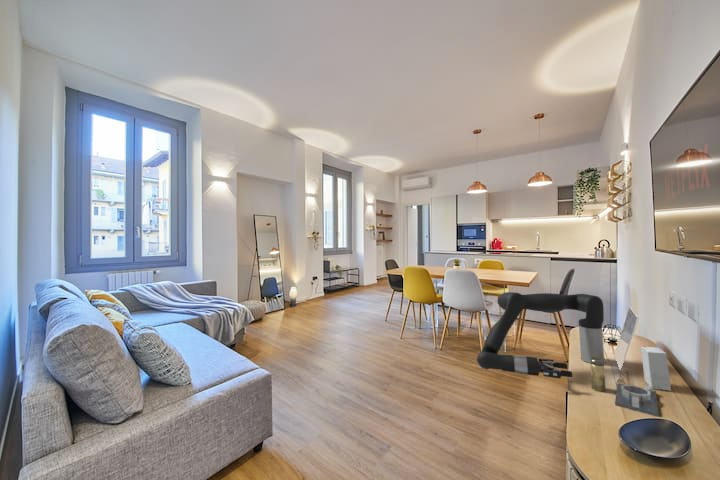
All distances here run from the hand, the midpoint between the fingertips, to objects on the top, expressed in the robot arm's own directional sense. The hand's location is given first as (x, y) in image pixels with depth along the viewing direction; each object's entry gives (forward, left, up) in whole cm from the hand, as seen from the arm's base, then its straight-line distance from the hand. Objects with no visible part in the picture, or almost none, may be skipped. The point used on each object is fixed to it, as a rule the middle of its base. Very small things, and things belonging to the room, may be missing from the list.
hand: (569, 370), depth 120 cm
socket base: (-3, +20, -7) cm, 21 cm away
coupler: (-4, +9, -7) cm, 12 cm away
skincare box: (-22, +26, -7) cm, 34 cm away
